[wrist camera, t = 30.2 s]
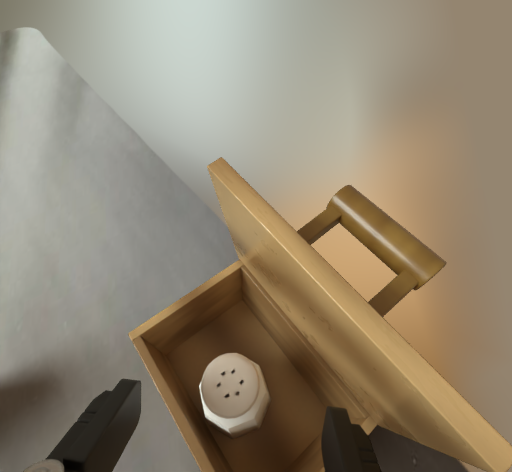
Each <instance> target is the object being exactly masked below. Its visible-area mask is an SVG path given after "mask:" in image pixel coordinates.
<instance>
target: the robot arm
mask: <svg viewBox="0 0 512 472" xmlns="http://www.w3.org/2000/svg"><path fill="white" fill-rule="evenodd" d="M140 413H141V382H140V381H137V380H129V379H121V380H120V381H119V383H118V384H117V385H116V387H115V388H114V390H113V391H107V390H106V391H105V392H103V393H102V394H100V395H99V396H98V397H96V398H95V399H94V400H93V401H92V402H91V403H90V405H89V406H88V407H87V408H86V410H85V412H83V413H82V415H81V416H80V417H79V418H78V420H77V422H75V423H74V425H73V426H72V427H71V428H70V430H69V431H68V432H67V433H66V435H65V436H64V437H63V438H62V440H61V441H60V442H59V443H58V445H57V446H56V447H55V448H54V450H53V451H52V452H51V453H50V455H49V456H48V457H47V458H46V459H45V460H42V461H39V462H37V463H35V464H33V465H31V466H29V467H28V468H26V469H25V470H24V471H23V472H112V471H113V469H114V467H115V465H116V464H117V462H118V460H119V458H120V456H121V454H122V452H123V451H124V449H125V447H126V445H127V443H128V441H129V440H130V438H131V436H132V434H133V432H134V430H135V429H136V426H137V424H138V421H139V418H140ZM321 450H322V458H323V463H324V469H325V472H381V470H380V467H379V464H378V463H377V458H376V456H375V453H374V452H373V447H372V444H371V442H370V439H369V436H368V435H367V434H366V432H365V431H364V430H363V429H362V427H361V426H360V425H359V424H352V423H351V422H350V418H349V415H348V412H347V409H346V408H340V407H332V406H327V409H326V414H325V419H324V425H323V431H322V437H321Z"/></svg>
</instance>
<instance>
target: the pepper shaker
mask: <svg viewBox="0 0 512 472" xmlns="http://www.w3.org/2000/svg"><path fill="white" fill-rule="evenodd" d="M199 388H200V394H201V399H202V404H203V408H204V413H205V417H206V419H207V421H208V423H209V425H211V426H212V427H214V428H216V429H217V430H219V431H220V432H222V433H224V434H225V435H227V436H229V437H230V438H232V439H235V438H237V437H240V436H242V435H245V434H247V433H250V432H252V431H255V430H257V429H260V426H261V424H262V421H263V419H264V416H265V414H266V412H267V409H268V407H269V404H270V402H271V398H270V395H269V392H268V388H267V385H266V382H265V379H264V376H263V373H262V371H261V369H260V367H259V365H258V364H256V363H255V362H253V361H251V360H249V359H248V358H247V357H245V356H243V355H241V354H238V353H226V354H223V355H220V356H218V357H217V358H215V359H214V360H213V361H212V362H211V363H210V364H209V365H208V366H207V368H206V370H205V372H204V374H203V377H202V381H201V383H200V385H199Z"/></svg>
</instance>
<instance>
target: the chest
mask: <svg viewBox="0 0 512 472" xmlns="http://www.w3.org/2000/svg"><path fill="white" fill-rule="evenodd" d="M128 335H129V337H130V339H131V340H132V342H133V344H134V346H135V348H136V350H137V352H138V354H139V355H140V357H141V359H142V361H143V363H144V365H145V367H146V369H147V370H148V372H149V374H150V376H151V378H152V380H153V382H154V384H155V386H156V387H157V389H158V391H159V393H160V395H161V397H162V399H163V401H164V402H165V404H166V406H167V408H168V410H169V412H170V414H171V416H172V417H173V419H174V421H175V423H176V425H177V427H178V429H179V431H180V432H181V434H182V436H183V438H184V440H185V442H186V444H187V446H188V448H189V449H190V451H191V453H192V455H193V457H194V459H195V461H196V463H197V464H198V466H199V468H200V470H201V472H325V469H324V463H323V458H322V450H321V437H322V431H323V425H324V419H325V414H326V409H327V406H332V407H340V408H346V409H347V412H348V415H349V418H350V422H351V423H352V424H359V425H360V426H361V427H362V429H363V430H364V431H365V432H366V434H367V435H369V434H370V433H371V432H372V431H373V429H374V428H375V427H376V426H377V425H378V424H377V423H376V422H375V420H374V419H373V418H372V417H371V416H370V414H369V413H368V412H367V411H366V410H365V408H364V407H363V406H362V405H361V404H360V402H359V401H358V400H357V399H356V398H355V396H354V395H353V394H352V393H351V392H350V390H349V389H348V388H347V387H346V386H345V384H344V383H343V382H342V381H341V380H340V378H339V377H338V376H337V375H336V374H335V372H334V371H333V370H332V369H331V368H330V367H329V365H328V364H327V363H326V362H325V361H324V359H323V358H322V357H321V356H320V355H319V353H318V352H317V351H316V350H315V349H314V347H313V346H312V345H311V344H310V343H309V341H308V340H307V339H306V338H305V337H304V335H303V334H302V333H301V332H300V331H299V329H298V328H297V327H296V326H295V325H294V323H293V322H292V321H291V320H290V319H289V317H288V316H287V315H286V314H285V313H284V311H283V310H282V309H281V308H280V307H279V306H278V304H277V303H276V302H275V301H274V300H273V298H272V297H271V296H270V295H269V294H268V292H267V291H266V290H265V289H264V288H263V286H262V285H261V284H260V283H259V282H258V280H257V279H256V278H255V277H254V276H253V274H252V273H251V272H250V271H249V270H248V268H247V267H246V266H245V265H244V264H243V262H242V261H241V260H238V261H237V262H235V263H234V264H232V265H231V266H229V267H227V268H226V269H224V270H223V271H221V272H220V273H218V274H217V275H215V276H214V277H212V278H211V279H209V280H208V281H206V282H205V283H203V284H202V285H200V286H199V287H197V288H196V289H194V290H193V291H191V292H190V293H188V294H187V295H185V296H184V297H182V298H181V299H179V300H178V301H176V302H175V303H173V304H172V305H170V306H169V307H167V308H166V309H164V310H163V311H161V312H160V313H158V314H157V315H155V316H154V317H152V318H151V319H149V320H148V321H146V322H145V323H143V324H142V325H140V326H139V327H137V328H136V329H134V330H133V331H131V332H130V333H128ZM226 353H238V354H241V355H243V356H245V357H247V358H248V359H249V360H251V361H253V362H255V363H256V364H258V365H259V367H260V369H261V371H262V373H263V376H264V379H265V382H266V385H267V388H268V392H269V395H270V398H271V402H270V404H269V407H268V409H267V412H266V414H265V416H264V419H263V421H262V424H261V426H260V429H257V430H255V431H252V432H250V433H247V434H245V435H242V436H240V437H237V438H235V439H232V438H230V437H229V436H227V435H225V434H224V433H222V432H220V431H219V430H217V429H216V428H214V427H212V426H211V425H209V423H208V421H207V419H206V417H205V413H204V408H203V404H202V399H201V394H200V388H199V385H200V383H201V381H202V377H203V374H204V372H205V370H206V368H207V366H208V365H209V364H210V363H211V362H212V361H213V360H214V359H215V358H217V357H218V356H220V355H223V354H226Z"/></svg>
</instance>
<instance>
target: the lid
mask: <svg viewBox="0 0 512 472" xmlns="http://www.w3.org/2000/svg"><path fill="white" fill-rule="evenodd" d="M207 168H208V171H209V174H210V176H211V180H212V182H213V185H214V188H215V191H216V194H217V197H218V200H219V202H220V206H221V208H222V211H223V214H224V217H225V220H226V223H227V226H228V229H229V232H230V235H231V237H232V240H233V243H234V246H235V249H236V252H237V255H238V258H239V259H240V260H241V261H242V262H243V264H244V265H245V266H246V267H247V268H248V270H249V271H250V272H251V273H252V274H253V276H254V277H255V278H256V279H257V280H258V282H259V283H260V284H261V285H262V286H263V288H264V289H265V290H266V291H267V292H268V294H269V295H270V296H271V297H272V298H273V300H274V301H275V302H276V303H277V304H278V306H279V307H280V308H281V309H282V310H283V311H284V313H285V314H286V315H287V316H288V317H289V319H290V320H291V321H292V322H293V323H294V325H295V326H296V327H297V328H298V329H299V331H300V332H301V333H302V334H303V335H304V337H305V338H306V339H307V340H308V341H309V343H310V344H311V345H312V346H313V347H314V349H315V350H316V351H317V352H318V353H319V355H320V356H321V357H322V358H323V359H324V361H325V362H326V363H327V364H328V365H329V367H330V368H331V369H332V370H333V371H334V372H335V374H336V375H337V376H338V377H339V378H340V380H341V381H342V382H343V383H344V384H345V386H346V387H347V388H348V389H349V390H350V392H351V393H352V394H353V395H354V396H355V398H356V399H357V400H358V401H359V402H360V404H361V405H362V406H363V407H364V408H365V410H366V411H367V412H368V413H369V414H370V416H371V417H372V418H373V419H374V420H375V422H376V423H377V424H378V425H379V426H381V427H383V428H385V429H388V430H390V431H392V432H395V433H397V434H399V435H402V436H404V437H406V438H409V439H411V440H414V441H416V442H418V443H421V444H423V445H425V446H428V447H430V448H432V449H435V450H437V451H440V452H442V453H444V454H447V455H449V456H451V457H454V458H456V459H458V460H461V461H463V462H466V463H468V464H470V465H473V466H475V467H477V468H480V469H482V470H485V471H487V472H507V471H508V470H509V468H510V467H511V466H512V446H511V445H510V444H509V443H508V442H507V441H506V440H505V439H504V438H503V437H502V436H501V435H500V434H499V433H498V432H497V431H496V430H495V429H494V428H493V427H492V426H491V425H490V424H489V423H488V422H487V421H486V420H485V419H484V418H483V417H482V416H481V415H480V414H479V413H478V412H477V411H476V410H475V409H474V408H473V407H472V406H471V405H470V404H469V403H468V402H467V401H466V400H465V399H464V398H463V397H462V396H461V395H460V394H459V393H458V392H457V391H456V390H455V389H454V388H453V387H452V386H451V385H450V384H449V383H448V382H447V381H446V380H445V379H444V378H443V377H442V376H441V375H440V374H439V373H438V372H437V371H436V370H435V369H434V368H433V367H432V366H431V365H430V364H429V363H428V362H427V361H426V360H425V359H424V358H423V357H422V356H421V355H420V354H419V353H418V352H417V351H416V350H415V349H414V348H413V347H412V346H411V345H410V344H409V343H408V342H407V341H406V340H405V339H404V338H403V337H402V336H401V335H400V334H399V333H398V332H397V331H396V330H395V329H394V328H393V327H392V326H391V325H390V324H389V323H388V322H387V321H386V320H385V319H384V318H383V316H384V315H385V314H386V313H387V312H389V311H390V310H391V309H392V308H393V307H394V306H395V305H396V304H397V303H398V302H399V301H400V300H401V299H402V298H403V297H405V296H406V295H407V294H408V293H409V292H410V291H411V290H412V289H414V290H417V289H419V288H420V287H421V286H423V285H424V284H425V283H426V282H428V281H429V280H430V279H431V278H432V277H433V276H435V274H437V273H438V272H439V271H440V270H441V269H442V268H443V267H444V266H445V265H446V261H444V260H443V259H442V258H441V257H439V256H438V255H437V254H436V253H434V252H433V251H432V250H431V249H429V248H428V247H427V246H426V245H424V244H423V243H422V242H421V241H420V240H418V239H417V238H416V237H415V236H413V235H412V234H411V233H410V232H408V231H407V230H406V229H405V228H403V227H402V226H401V225H400V224H398V223H397V222H396V221H395V220H393V219H392V218H391V217H390V216H388V215H387V214H386V213H385V212H383V211H382V210H381V209H380V208H379V207H377V206H376V205H375V204H374V203H372V202H371V201H370V200H369V199H367V198H366V197H365V196H363V195H362V194H361V193H360V192H359V191H357V190H356V189H355V188H354V187H352V186H351V185H347V186H345V187H343V188H342V189H341V190H339V191H338V192H337V193H336V194H335V195H334V197H333V198H332V199H331V200H330V202H329V204H328V205H327V208H326V210H324V211H323V212H322V213H320V214H319V215H318V216H317V217H315V218H314V219H313V220H312V221H310V222H309V223H307V224H306V225H305V226H303V227H302V228H301V229H300V230H298V231H297V232H296V231H295V230H294V229H293V228H292V227H291V226H290V225H289V224H288V223H287V222H286V221H285V220H284V219H283V218H282V217H281V216H280V215H279V214H278V213H277V212H276V211H275V210H274V209H273V208H272V207H271V206H270V205H269V204H268V203H267V202H266V201H265V200H264V199H263V198H262V197H261V196H260V195H259V194H258V193H257V192H256V191H255V190H254V189H253V188H252V187H251V186H250V185H249V184H248V183H247V182H246V181H245V180H244V179H243V178H242V177H241V176H240V175H239V174H238V173H237V172H236V171H235V170H234V169H233V168H232V167H231V166H230V165H229V164H228V163H227V162H226V161H225V160H224V159H223V158H222V157H221V158H219V159H218V160H216V161H214V162H213V163H211V164H210V165H208V166H207ZM338 223H340V224H341V225H342V226H343V227H344V228H346V229H347V230H348V231H349V232H350V233H351V234H352V235H353V236H355V237H356V238H357V239H358V240H359V241H360V242H361V243H363V245H365V246H366V247H367V248H368V249H369V250H370V251H371V252H372V253H373V254H375V255H376V256H377V257H378V258H379V259H380V260H381V261H382V262H384V263H385V264H386V265H387V266H388V267H389V268H390V269H391V270H393V271H394V272H395V273H396V274H397V275H398V276H397V277H396V278H394V279H393V280H392V281H391V282H390V283H389V284H388V285H387V286H386V287H384V288H383V289H382V290H381V291H380V292H379V293H378V294H377V295H376V296H374V298H372V299H371V300H370V301H369V302H367V301H366V300H365V299H364V298H363V297H362V296H361V295H360V294H359V293H358V292H357V291H356V290H355V289H353V287H352V286H351V285H350V284H349V283H348V282H347V281H345V279H344V278H343V277H342V276H341V275H340V274H339V273H338V272H337V271H335V269H333V267H332V266H331V265H330V264H329V263H328V262H327V261H326V260H325V259H324V258H322V256H320V255H319V253H317V251H316V250H315V249H314V248H313V247H311V246H310V245H311V244H312V243H314V242H315V241H316V240H318V239H319V238H320V237H321V236H323V235H324V234H325V233H326V232H328V231H329V230H330V229H331V228H333V227H334V226H335V225H337V224H338Z"/></svg>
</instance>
